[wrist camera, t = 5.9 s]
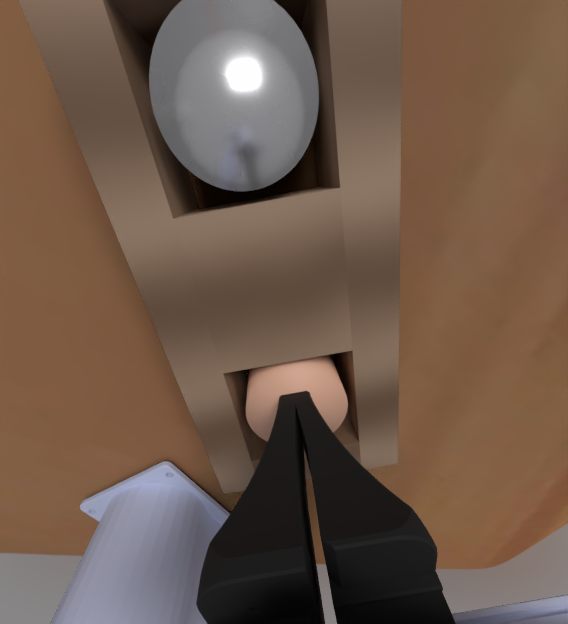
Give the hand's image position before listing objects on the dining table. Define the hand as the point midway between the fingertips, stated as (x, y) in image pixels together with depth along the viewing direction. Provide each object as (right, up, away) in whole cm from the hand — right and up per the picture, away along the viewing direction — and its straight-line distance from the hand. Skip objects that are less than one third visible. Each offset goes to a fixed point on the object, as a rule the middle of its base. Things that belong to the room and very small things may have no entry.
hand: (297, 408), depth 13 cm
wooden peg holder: (-1, +7, +1) cm, 7 cm away
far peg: (0, +2, +4) cm, 4 cm away
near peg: (-2, +12, -1) cm, 13 cm away
